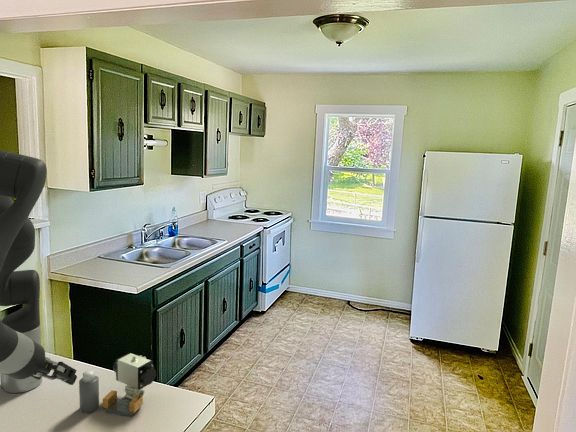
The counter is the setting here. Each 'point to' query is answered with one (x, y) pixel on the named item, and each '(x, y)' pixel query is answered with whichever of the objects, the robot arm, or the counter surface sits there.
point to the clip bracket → (121, 404)
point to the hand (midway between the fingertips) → (57, 377)
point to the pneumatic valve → (134, 373)
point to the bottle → (89, 392)
